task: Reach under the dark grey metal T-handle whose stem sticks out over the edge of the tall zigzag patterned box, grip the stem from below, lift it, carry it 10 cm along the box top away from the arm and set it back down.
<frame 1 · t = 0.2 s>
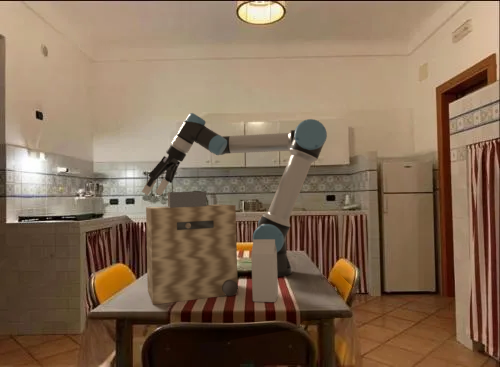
hand: (151, 193, 150), 35 cm above the table, tool tilted 35°, fingers open, 13 cm apart
milk carton: (265, 299, 118), on the table
t handle: (180, 206, 135), point 30 cm above the table, touching zigzag patterned box
zigzag patterned box: (191, 292, 128), on the table
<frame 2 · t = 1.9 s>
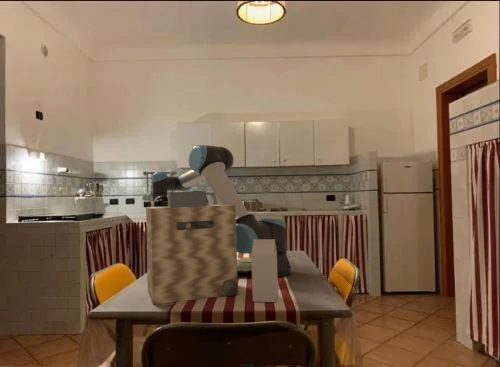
hand: (169, 204, 162), 30 cm above the table, tool horizontal, fingers open, 13 cm apart
nothing on the table moved.
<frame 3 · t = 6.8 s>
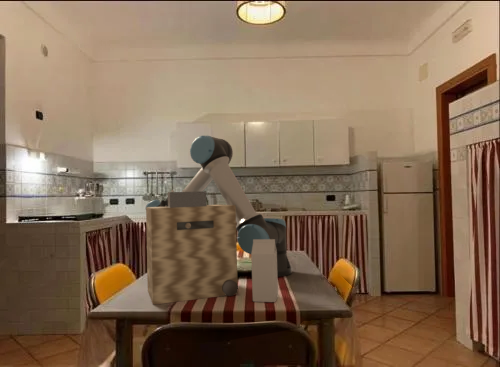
hand: (178, 192, 139), 35 cm above the table, tool pointing upward, fingers closed on t handle, 3 cm apart
t handle: (180, 206, 135), point 30 cm above the table, touching gripper, zigzag patterned box
everything else where it was.
when the fingers open (39 cm above the table, at t = 10.2 s): t handle drops 4 cm, resting on zigzag patterned box.
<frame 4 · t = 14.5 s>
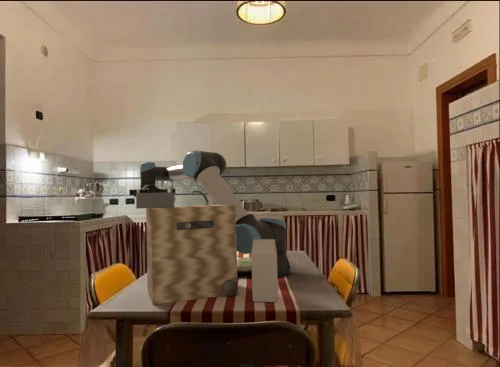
hand: (154, 191, 160), 36 cm above the table, tool horizontal, fingers open, 13 cm apart
t handle: (152, 206, 136), point 30 cm above the table, touching zigzag patterned box
everything else where it was.
at the end: t handle inside the target area (0.6 cm from its centre), point 30.0 cm above the table; the gripper is holding nothing; t handle moved 10.7 cm from its start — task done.
